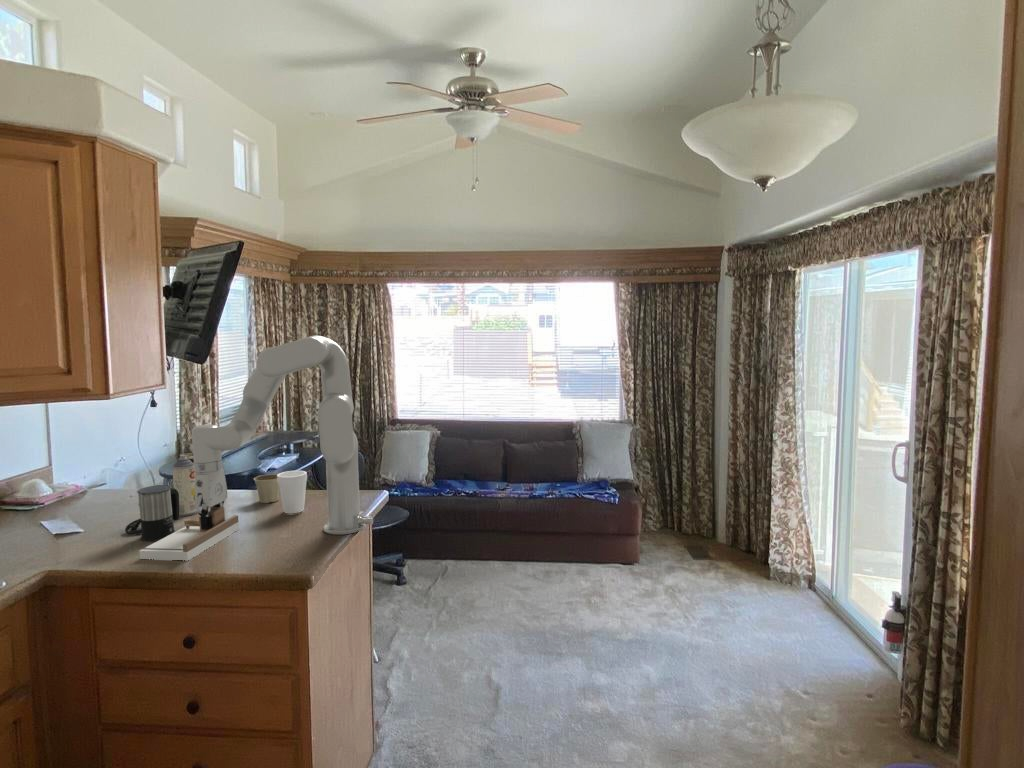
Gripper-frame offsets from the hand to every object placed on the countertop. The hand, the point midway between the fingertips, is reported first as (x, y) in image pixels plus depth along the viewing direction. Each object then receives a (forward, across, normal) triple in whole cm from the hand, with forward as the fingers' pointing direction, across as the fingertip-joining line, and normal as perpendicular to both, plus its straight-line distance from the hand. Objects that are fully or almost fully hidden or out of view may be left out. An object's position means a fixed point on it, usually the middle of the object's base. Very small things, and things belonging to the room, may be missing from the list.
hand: (212, 525), depth 196 cm
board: (+4, -6, +3) cm, 7 cm away
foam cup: (+4, +26, -13) cm, 30 cm away
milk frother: (+4, +1, +21) cm, 22 cm away
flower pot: (+4, +38, +2) cm, 39 cm away
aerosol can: (+4, +22, +23) cm, 32 cm away
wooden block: (+1, 0, +3) cm, 3 cm away
